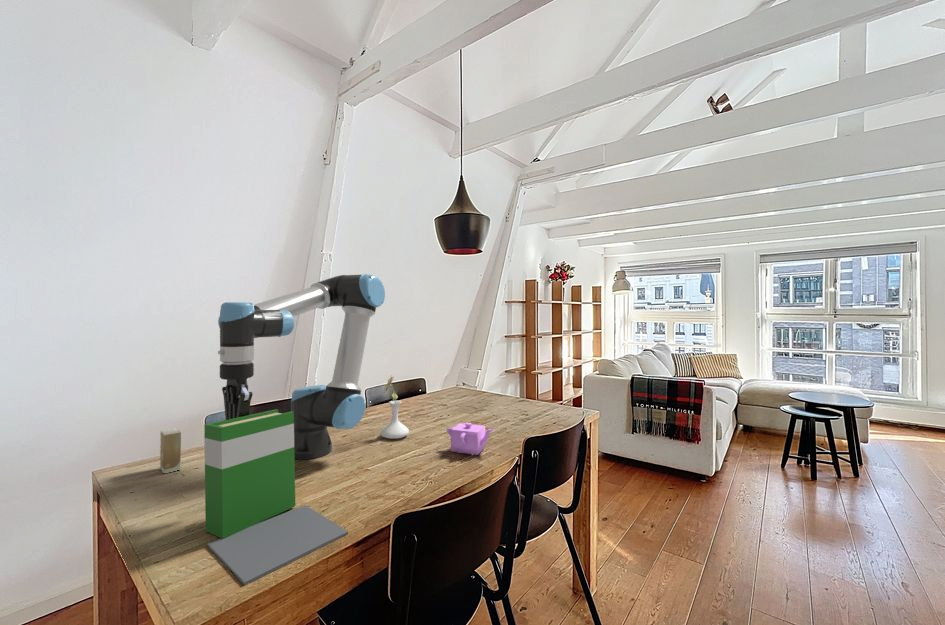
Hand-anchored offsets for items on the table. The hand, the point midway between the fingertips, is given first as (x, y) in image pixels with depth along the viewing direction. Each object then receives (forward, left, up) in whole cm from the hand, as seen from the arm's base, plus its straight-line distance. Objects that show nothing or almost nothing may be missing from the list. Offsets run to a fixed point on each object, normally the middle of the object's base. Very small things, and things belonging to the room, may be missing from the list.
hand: (236, 454), depth 103 cm
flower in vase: (-12, +62, -14) cm, 65 cm away
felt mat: (+23, 0, -14) cm, 27 cm away
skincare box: (-40, -4, -14) cm, 43 cm away
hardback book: (+10, 0, -13) cm, 17 cm away
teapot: (+21, +69, -14) cm, 73 cm away
